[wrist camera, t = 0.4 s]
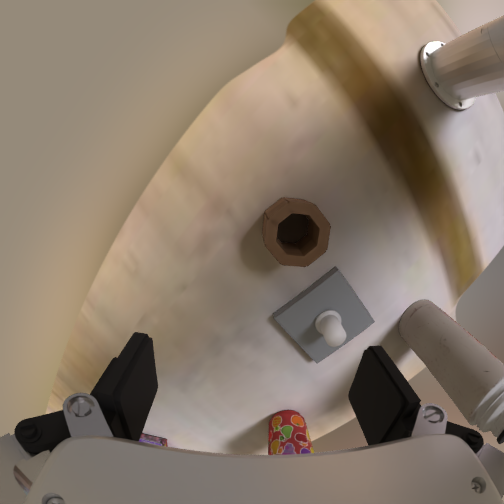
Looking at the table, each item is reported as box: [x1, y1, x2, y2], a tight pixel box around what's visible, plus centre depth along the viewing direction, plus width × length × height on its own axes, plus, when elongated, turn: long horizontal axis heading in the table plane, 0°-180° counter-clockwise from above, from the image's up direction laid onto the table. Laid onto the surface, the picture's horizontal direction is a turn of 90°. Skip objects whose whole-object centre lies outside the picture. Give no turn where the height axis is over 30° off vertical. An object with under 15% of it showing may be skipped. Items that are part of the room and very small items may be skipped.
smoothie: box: [268, 410, 314, 455], centre depth 35 cm, size 8×8×20 cm
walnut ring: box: [262, 197, 331, 267], centre depth 32 cm, size 7×7×6 cm
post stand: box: [273, 266, 375, 363], centre depth 36 cm, size 11×11×6 cm
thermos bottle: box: [399, 300, 504, 444], centre depth 26 cm, size 8×8×28 cm
